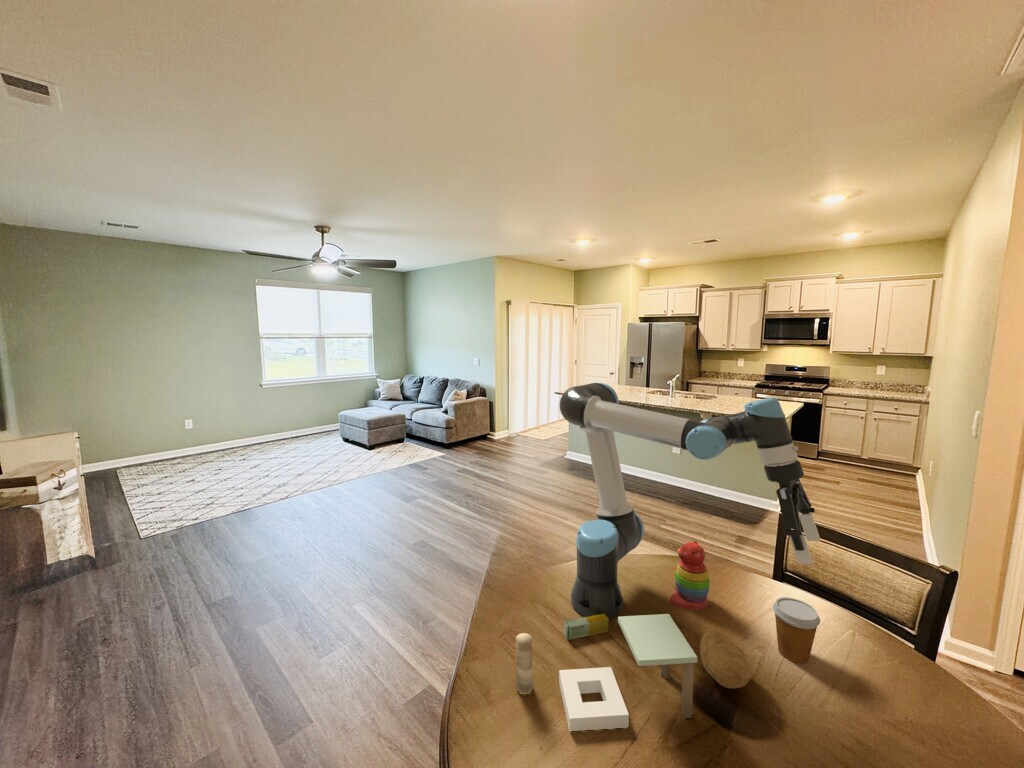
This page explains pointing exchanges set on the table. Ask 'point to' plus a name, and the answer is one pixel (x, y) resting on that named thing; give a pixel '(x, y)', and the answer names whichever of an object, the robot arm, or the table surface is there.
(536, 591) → the table surface
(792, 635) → the disposable coffee cup
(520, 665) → the peg
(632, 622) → the mint green toy table
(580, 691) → the socket block
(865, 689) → the table surface
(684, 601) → the stacking bear
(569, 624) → the medication box
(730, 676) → the potato
